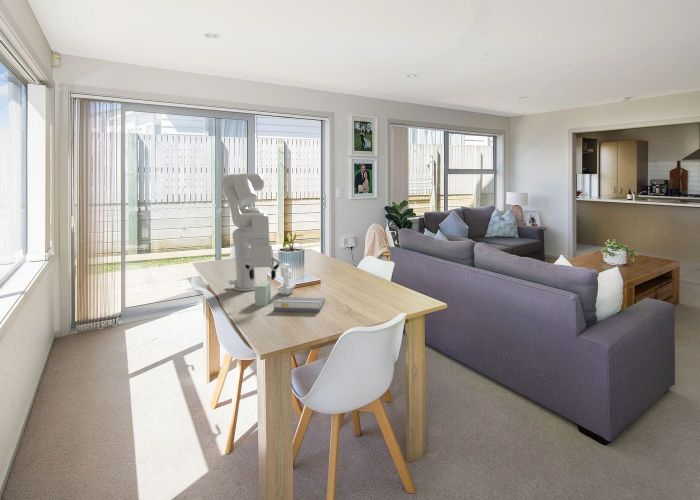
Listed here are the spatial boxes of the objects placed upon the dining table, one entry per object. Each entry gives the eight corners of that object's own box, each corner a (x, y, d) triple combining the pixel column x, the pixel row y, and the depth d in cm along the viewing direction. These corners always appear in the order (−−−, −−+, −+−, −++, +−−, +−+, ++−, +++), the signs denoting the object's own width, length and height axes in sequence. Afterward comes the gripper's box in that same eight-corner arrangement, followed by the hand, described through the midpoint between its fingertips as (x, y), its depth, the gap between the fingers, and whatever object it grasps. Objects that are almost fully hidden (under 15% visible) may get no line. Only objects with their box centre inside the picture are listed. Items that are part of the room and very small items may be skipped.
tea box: (266, 305, 188) (265, 286, 186) (254, 305, 188) (254, 286, 186) (270, 300, 195) (270, 282, 194) (260, 300, 196) (259, 281, 194)
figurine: (296, 291, 211) (296, 262, 209) (290, 296, 202) (289, 266, 200) (283, 290, 213) (282, 261, 210) (276, 295, 204) (275, 265, 201)
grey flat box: (273, 311, 180) (273, 301, 179) (282, 300, 196) (282, 290, 195) (319, 312, 178) (319, 302, 177) (324, 301, 194) (324, 291, 193)
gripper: (239, 242, 184) (241, 280, 186) (277, 242, 182) (279, 280, 185) (245, 240, 191) (246, 277, 193) (282, 240, 189) (283, 277, 192)
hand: (262, 279), depth 189 cm, fingers open, 9 cm apart
